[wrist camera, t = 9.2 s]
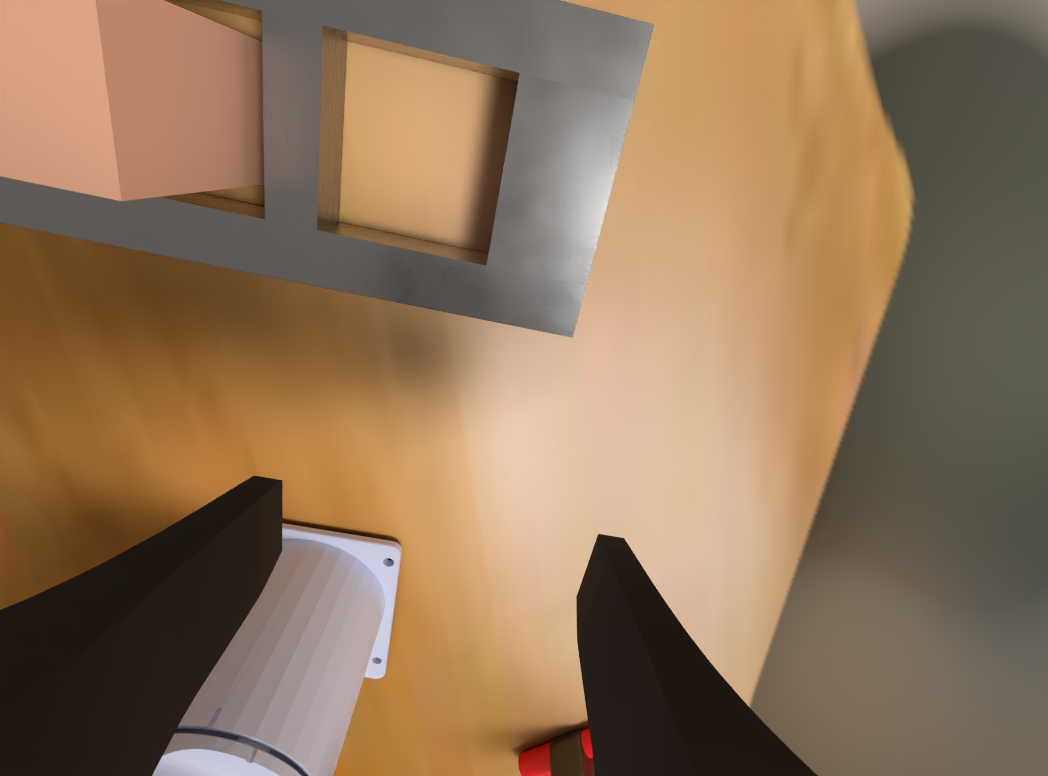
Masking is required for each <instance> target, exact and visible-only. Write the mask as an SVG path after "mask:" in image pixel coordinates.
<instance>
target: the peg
mask: <svg viewBox="0 0 1048 776" xmlns="http://www.w3.org/2000/svg"><path fill="white" fill-rule="evenodd" d="M0 176H2V177H6V178H11V179H16V180H21V181H26V182H31V183H36V184H40V185H45V186H50V187H55V188H60V189H65V190H70V191H74V192H79V193H84V194H89V195H94V196H99V197H104V198H108V199H113V200H118V201H128V200H136V199H145V198H153V197H162V196H171V195H179V194H188V193H196V192H205V191H213V190H222V189H231V188H239V187H248V186H256V185H264V127H263V59H262V41H259V40H257V39H255V38H252V37H250V36H248V35H245V34H243V33H240V32H238V31H236V30H233V29H231V28H229V27H226V26H224V25H221V24H219V23H217V22H214V21H212V20H210V19H207V18H205V17H202V16H200V15H198V14H195V13H193V12H191V11H188V10H186V9H184V8H181V7H179V6H176V5H174V4H172V3H169V2H167V1H165V0H0Z"/></svg>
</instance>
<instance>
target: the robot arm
mask: <svg viewBox="0 0 1048 776" xmlns="http://www.w3.org/2000/svg"><path fill="white" fill-rule="evenodd" d="M401 554H402V547H401V546H400V545H399V544H398V543H397V542H394V541H389V540H383V539H377V538H371V537H365V536H358V535H352V534H346V533H340V532H334V531H328V530H322V529H315V528H309V527H303V526H297V525H291V524H285V523H282V480H277V479H271V478H265V477H259V476H253V477H251V478H249V479H248V480H246V481H244V482H243V483H241V484H239V485H238V486H236V487H234V488H233V489H231V490H230V491H228V492H226V493H225V494H223V495H221V496H220V497H218V498H216V499H215V500H213V501H212V502H210V503H208V504H207V505H205V506H203V507H202V508H200V509H198V510H197V511H195V512H194V513H192V514H190V515H188V516H187V517H185V518H183V519H182V520H180V521H178V522H177V523H175V524H173V525H172V526H170V527H168V528H166V529H165V530H163V531H161V532H160V533H158V534H156V535H154V536H152V537H150V538H149V539H147V540H145V541H143V542H141V543H139V544H138V545H136V546H134V547H132V548H130V549H128V550H127V551H125V552H123V553H121V554H119V555H117V556H116V557H114V558H112V559H110V560H108V561H106V562H104V563H102V564H100V565H98V566H96V567H94V568H92V569H90V570H88V571H86V572H84V573H82V574H80V575H78V576H76V577H74V578H72V579H70V580H68V581H65V582H63V583H61V584H59V585H57V586H55V587H52V588H50V589H48V590H46V591H44V592H42V593H40V594H37V595H35V596H33V597H31V598H28V599H26V600H24V601H21V602H19V603H16V604H14V605H12V606H9V607H7V608H4V609H2V610H0V776H333V775H334V771H335V768H336V765H337V762H338V759H339V756H340V752H341V749H342V746H343V743H344V740H345V737H346V733H347V730H348V727H349V724H350V721H351V717H352V714H353V711H354V708H355V705H356V702H357V698H358V695H359V692H360V689H361V686H362V683H363V679H364V677H368V678H375V679H378V678H381V677H383V676H384V674H385V671H386V667H387V660H388V652H389V645H390V637H391V630H392V622H393V615H394V607H395V599H396V592H397V584H398V577H399V569H400V562H401ZM386 558H390V559H392V560H388V559H386ZM577 642H578V650H579V657H580V665H581V672H582V680H583V687H584V694H585V701H586V709H587V716H588V723H589V730H590V737H591V744H592V753H593V763H594V774H595V776H817V775H816V774H815V773H814V772H813V771H812V770H811V769H810V768H809V767H808V766H807V765H806V764H805V763H804V762H803V761H802V760H801V759H800V758H798V757H797V756H796V755H795V754H794V753H793V752H792V751H791V750H790V749H789V748H788V747H787V746H786V745H785V744H784V743H783V742H782V741H781V740H780V739H779V738H778V737H777V736H776V735H775V734H774V733H773V732H772V731H771V730H770V729H769V728H768V727H767V726H766V725H765V724H764V723H763V722H762V720H761V719H760V718H759V717H758V716H757V715H756V714H755V713H754V712H753V711H752V710H751V709H750V708H749V707H748V706H747V704H746V703H745V702H744V701H743V700H742V699H741V698H740V696H739V695H738V694H737V693H736V692H735V691H734V690H733V689H732V687H731V686H730V685H729V684H728V683H727V682H726V681H725V679H724V678H723V677H722V676H721V675H720V674H719V672H718V671H717V670H716V669H715V668H714V666H713V665H712V664H711V663H710V662H709V660H708V659H707V658H706V656H705V655H704V654H703V653H702V651H701V650H700V649H699V647H698V646H697V645H696V643H695V642H694V641H693V640H692V638H691V637H690V636H689V634H688V633H687V632H686V630H685V629H684V628H683V626H682V625H681V624H680V622H679V621H678V619H677V618H676V616H675V615H674V614H673V612H672V611H671V609H670V608H669V606H668V605H667V604H666V602H665V601H664V599H663V598H662V596H661V595H660V593H659V592H658V590H657V589H656V587H655V586H654V584H653V583H652V581H651V580H650V578H649V576H648V575H647V573H646V572H645V570H644V569H643V567H642V566H641V564H640V562H639V561H638V559H637V558H636V556H635V555H634V553H633V552H632V550H631V548H630V547H629V545H628V544H627V542H626V541H625V539H624V538H619V537H613V536H607V535H601V534H598V537H597V540H596V542H595V545H594V548H593V551H592V554H591V557H590V560H589V563H588V566H587V568H586V571H585V574H584V577H583V580H582V583H581V586H580V589H579V592H578V594H577Z"/></svg>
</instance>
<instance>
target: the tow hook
mask: <svg viewBox="0 0 1048 776" xmlns="http://www.w3.org/2000/svg"><path fill="white" fill-rule="evenodd" d="M518 763H519V770H520V773H521V775H522V776H595V774H594V763H593V753H592V744H591V737H590V730H589V728H588V729H585V730H583V729H579V730H576V731H574V732H571V733H568V734H566V735H563V736H560V737H557V738H555V739H553V740H552V741H551V742H550V743H547V744H545V745H542V746H539V747H537V748H534V749H531V750H529V751H526V752H523V753H521V754H520V755H519V760H518Z"/></svg>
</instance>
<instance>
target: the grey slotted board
mask: <svg viewBox="0 0 1048 776" xmlns="http://www.w3.org/2000/svg"><path fill="white" fill-rule="evenodd" d="M179 1H183V2H187V3H192V4H196V5H200V6H204V7H208V8H213V9H217V10H221V11H225V12H229V13H233V14H238V15H242V16H246V17H250V18H254V19H258V20H262V59H263V127H264V196H265V207H264V206H259V205H254V204H250V203H245V202H240V201H235V200H231V199H226V198H221V197H216V196H212V195H207V194H202V193H197V192H196V193H188V194H179V195H171V196H162V197H153V198H145V199H136V200H128V201H118V200H113V199H108V198H104V197H99V196H94V195H89V194H84V193H79V192H74V191H70V190H65V189H60V188H55V187H50V186H45V185H40V184H36V183H31V182H26V181H21V180H16V179H11V178H6V177H2V176H0V223H3V224H8V225H13V226H18V227H23V228H28V229H33V230H38V231H43V232H48V233H53V234H58V235H63V236H68V237H73V238H78V239H83V240H88V241H93V242H98V243H103V244H108V245H113V246H118V247H123V248H128V249H133V250H138V251H143V252H148V253H153V254H158V255H163V256H168V257H173V258H178V259H183V260H188V261H193V262H198V263H203V264H208V265H213V266H218V267H223V268H228V269H233V270H238V271H243V272H248V273H253V274H258V275H263V276H268V277H273V278H278V279H283V280H288V281H293V282H298V283H303V284H308V285H313V286H318V287H323V288H328V289H333V290H338V291H343V292H348V293H353V294H358V295H363V296H368V297H373V298H378V299H383V300H388V301H393V302H398V303H403V304H408V305H413V306H418V307H423V308H428V309H433V310H438V311H443V312H448V313H453V314H458V315H463V316H468V317H473V318H478V319H483V320H488V321H493V322H498V323H503V324H508V325H513V326H518V327H523V328H528V329H533V330H538V331H543V332H548V333H553V334H558V335H563V336H568V337H573V334H574V330H575V326H576V322H577V319H578V315H579V311H580V307H581V303H582V299H583V296H584V292H585V288H586V284H587V280H588V276H589V273H590V269H591V265H592V261H593V257H594V254H595V250H596V246H597V242H598V238H599V234H600V231H601V227H602V223H603V219H604V215H605V211H606V208H607V204H608V200H609V196H610V192H611V189H612V185H613V181H614V177H615V173H616V169H617V166H618V162H619V158H620V154H621V150H622V146H623V143H624V139H625V135H626V131H627V127H628V124H629V120H630V116H631V112H632V108H633V104H634V101H635V97H636V93H637V89H638V85H639V81H640V78H641V74H642V70H643V66H644V62H645V58H646V55H647V51H648V47H649V43H650V39H651V36H652V32H653V28H654V24H650V23H646V22H642V21H639V20H635V19H631V18H627V17H623V16H619V15H615V14H611V13H607V12H603V11H599V10H595V9H591V8H587V7H583V6H579V5H575V4H572V3H568V2H564V1H560V0H179ZM347 41H350V42H355V43H359V44H363V45H367V46H371V47H376V48H380V49H384V50H388V51H392V52H396V53H401V54H405V55H409V56H413V57H417V58H422V59H426V60H430V61H434V62H438V63H442V64H447V65H451V66H455V67H459V68H463V69H468V70H472V71H476V72H480V73H484V74H488V75H493V76H497V77H501V78H505V79H509V80H514V81H518V86H517V92H516V98H515V104H514V109H513V115H512V121H511V127H510V133H509V138H508V144H507V150H506V156H505V162H504V167H503V173H502V179H501V185H500V191H499V196H498V202H497V208H496V214H495V219H494V225H493V231H492V237H491V243H490V248H489V254H487V253H482V252H477V251H473V250H468V249H463V248H458V247H454V246H449V245H444V244H439V243H435V242H430V241H425V240H420V239H416V238H411V237H406V236H401V235H397V234H392V233H387V232H382V231H378V230H373V229H368V228H363V227H359V226H354V225H349V224H345V223H340V222H339V208H340V187H341V165H342V143H343V121H344V99H345V78H346V56H347Z"/></svg>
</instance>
